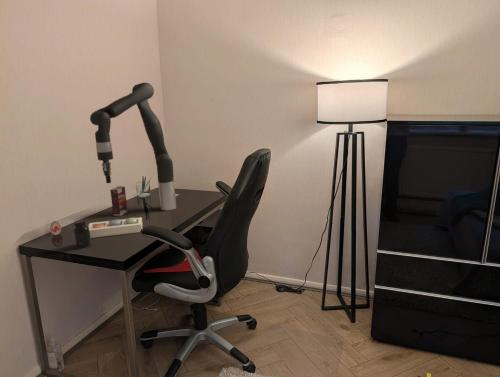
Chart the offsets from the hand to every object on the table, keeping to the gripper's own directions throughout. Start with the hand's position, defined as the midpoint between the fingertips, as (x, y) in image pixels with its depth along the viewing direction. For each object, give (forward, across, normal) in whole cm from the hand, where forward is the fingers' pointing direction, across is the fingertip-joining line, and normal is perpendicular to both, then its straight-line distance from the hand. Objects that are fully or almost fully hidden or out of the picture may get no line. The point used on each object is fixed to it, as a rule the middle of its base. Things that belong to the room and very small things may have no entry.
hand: (108, 182), depth 189 cm
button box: (+23, -13, -2) cm, 26 cm away
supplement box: (+23, +18, -2) cm, 29 cm away
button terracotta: (+22, -13, +6) cm, 26 cm away
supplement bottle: (+23, -28, +11) cm, 38 cm away
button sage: (+20, -13, -10) cm, 26 cm away
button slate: (+20, -13, -2) cm, 24 cm away
